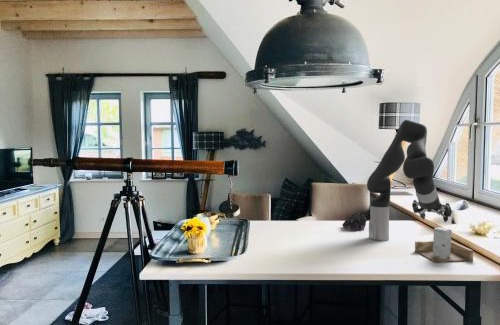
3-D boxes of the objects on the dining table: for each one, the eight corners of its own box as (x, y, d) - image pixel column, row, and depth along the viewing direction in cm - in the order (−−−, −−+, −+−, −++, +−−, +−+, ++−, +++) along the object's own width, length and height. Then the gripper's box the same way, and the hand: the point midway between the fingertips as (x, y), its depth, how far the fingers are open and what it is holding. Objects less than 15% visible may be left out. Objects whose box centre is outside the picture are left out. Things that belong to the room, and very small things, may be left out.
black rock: (338, 231, 232) (339, 214, 231) (345, 224, 244) (346, 208, 242) (362, 235, 226) (363, 218, 224) (367, 228, 238) (369, 212, 236)
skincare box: (432, 254, 180) (432, 227, 180) (438, 253, 182) (439, 226, 182) (444, 258, 175) (445, 230, 174) (451, 256, 177) (451, 229, 176)
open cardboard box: (435, 262, 171) (435, 252, 171) (414, 251, 188) (415, 241, 188) (472, 261, 173) (473, 250, 173) (449, 249, 190) (449, 240, 190)
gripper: (448, 189, 157) (455, 213, 166) (410, 186, 166) (419, 209, 175) (444, 204, 153) (451, 228, 163) (406, 200, 162) (414, 223, 172)
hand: (434, 218), depth 169 cm, fingers open, 8 cm apart
